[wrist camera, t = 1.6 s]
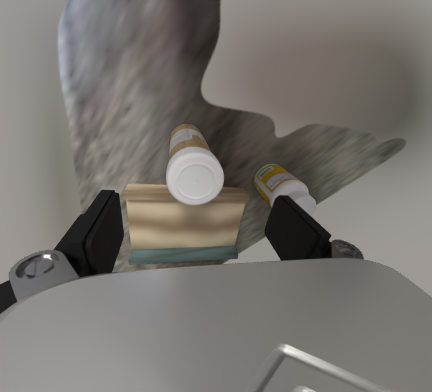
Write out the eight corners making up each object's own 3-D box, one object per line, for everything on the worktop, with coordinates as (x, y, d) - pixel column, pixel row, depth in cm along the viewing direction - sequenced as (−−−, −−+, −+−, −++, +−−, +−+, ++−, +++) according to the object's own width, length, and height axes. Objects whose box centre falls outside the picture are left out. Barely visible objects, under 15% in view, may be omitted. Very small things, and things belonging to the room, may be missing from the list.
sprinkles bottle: (208, 147, 27) (233, 192, 15) (180, 161, 27) (184, 216, 16) (193, 116, 24) (210, 142, 13) (162, 132, 25) (153, 171, 13)
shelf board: (128, 183, 27) (120, 198, 23) (243, 187, 31) (253, 201, 28) (134, 244, 33) (129, 264, 29) (231, 241, 37) (237, 258, 33)
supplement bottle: (277, 193, 33) (311, 227, 25) (249, 191, 32) (275, 227, 24) (287, 164, 31) (329, 192, 22) (258, 161, 29) (290, 190, 21)
